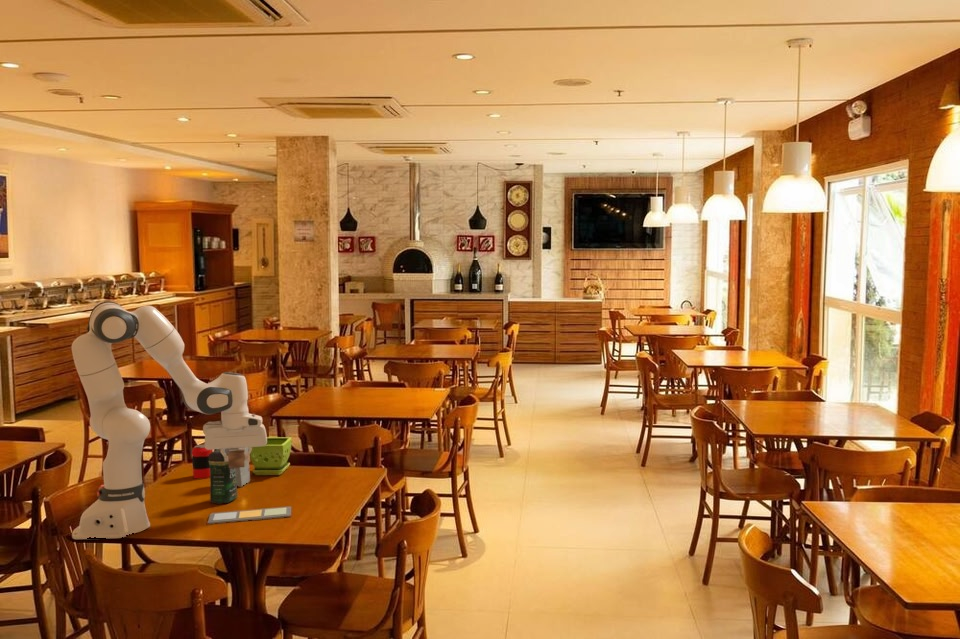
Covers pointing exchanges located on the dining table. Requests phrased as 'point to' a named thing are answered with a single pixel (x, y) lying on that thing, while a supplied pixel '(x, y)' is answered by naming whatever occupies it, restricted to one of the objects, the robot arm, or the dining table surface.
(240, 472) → the skincare box
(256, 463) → the flower pot
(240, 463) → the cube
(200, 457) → the soda can
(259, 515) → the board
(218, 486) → the coffee jar
